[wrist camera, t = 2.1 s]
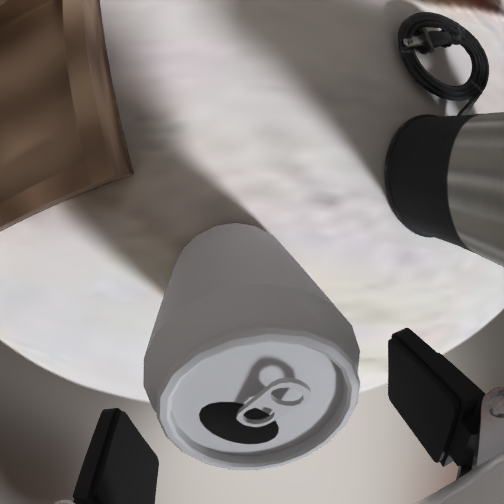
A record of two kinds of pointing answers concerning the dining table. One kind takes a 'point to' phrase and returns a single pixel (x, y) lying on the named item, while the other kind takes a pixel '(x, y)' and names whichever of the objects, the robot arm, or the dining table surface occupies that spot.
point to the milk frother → (449, 151)
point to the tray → (55, 106)
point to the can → (248, 354)
